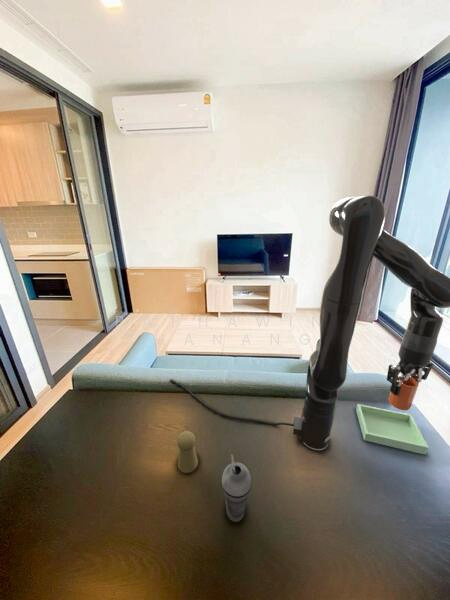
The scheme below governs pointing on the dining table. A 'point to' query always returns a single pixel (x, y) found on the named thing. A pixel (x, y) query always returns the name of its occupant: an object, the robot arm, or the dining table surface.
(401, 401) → the terracotta cup
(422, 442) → the tray
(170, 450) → the dining table surface
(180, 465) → the beige pawn figure
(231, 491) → the beverage cup
